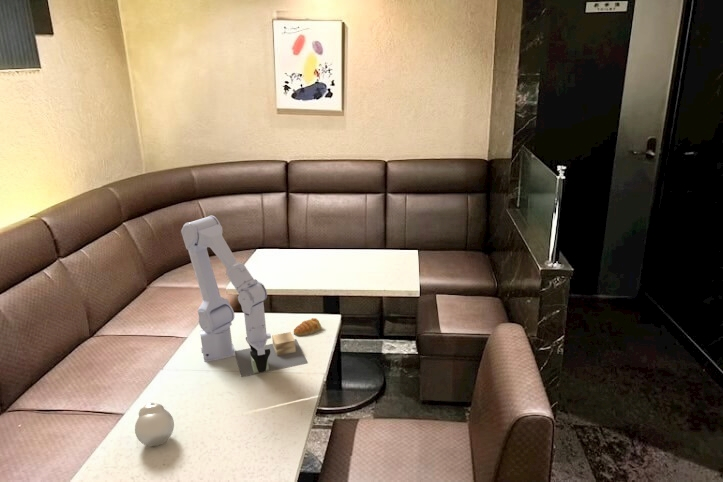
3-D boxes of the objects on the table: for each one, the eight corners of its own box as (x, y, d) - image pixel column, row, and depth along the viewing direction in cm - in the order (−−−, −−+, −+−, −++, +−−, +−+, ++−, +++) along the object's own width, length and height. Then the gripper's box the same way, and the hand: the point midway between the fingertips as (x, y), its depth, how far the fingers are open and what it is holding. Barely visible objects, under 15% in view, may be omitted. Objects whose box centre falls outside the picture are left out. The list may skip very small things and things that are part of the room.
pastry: (300, 340, 177) (299, 330, 176) (289, 333, 182) (288, 323, 181) (323, 331, 183) (323, 320, 182) (312, 324, 188) (311, 314, 187)
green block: (253, 373, 158) (252, 361, 157) (251, 365, 162) (250, 353, 161) (268, 369, 160) (267, 358, 159) (266, 362, 164) (265, 350, 162)
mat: (241, 378, 157) (241, 377, 157) (234, 352, 171) (234, 351, 171) (308, 364, 163) (308, 363, 163) (296, 340, 177) (296, 339, 177)
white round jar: (179, 426, 137) (173, 392, 134) (172, 451, 128) (166, 416, 125) (142, 430, 136) (136, 396, 132) (133, 456, 127) (125, 421, 124)
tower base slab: (276, 355, 167) (276, 349, 167) (273, 346, 173) (272, 341, 172) (295, 351, 169) (295, 346, 169) (291, 343, 175) (291, 337, 174)
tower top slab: (276, 349, 167) (275, 344, 166) (272, 341, 172) (272, 335, 172) (295, 346, 169) (294, 340, 168) (291, 337, 174) (290, 332, 173)
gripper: (273, 332, 151) (277, 374, 156) (264, 311, 164) (268, 350, 169) (248, 337, 149) (253, 379, 153) (241, 315, 162) (246, 355, 166)
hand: (259, 364), depth 161 cm, fingers open, 7 cm apart
